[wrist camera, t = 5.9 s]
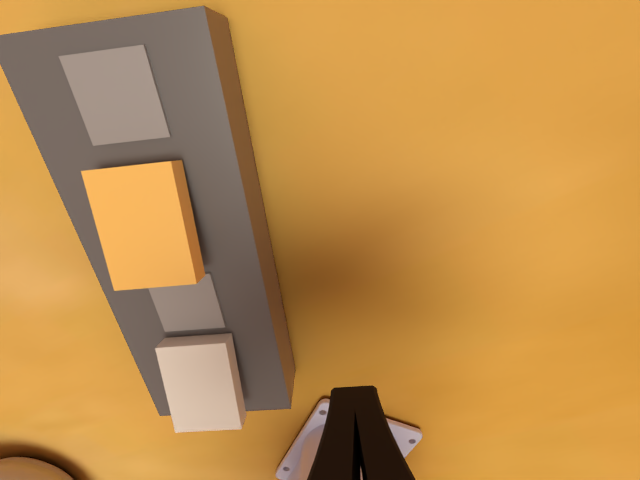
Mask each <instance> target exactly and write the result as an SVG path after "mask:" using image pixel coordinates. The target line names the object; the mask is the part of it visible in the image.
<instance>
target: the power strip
mask: <svg viewBox="0 0 640 480" xmlns="http://www.w3.org/2000/svg"><path fill="white" fill-rule="evenodd" d="M0 64H1V67H2V69H3V71H4V73H5V75H6V78H7V80H8V82H9V84H10V86H11V89H12V91H13V93H14V95H15V97H16V100H17V102H18V104H19V106H20V108H21V111H22V113H23V115H24V117H25V119H26V122H27V124H28V126H29V128H30V130H31V133H32V135H33V137H34V139H35V141H36V144H37V146H38V148H39V150H40V153H41V155H42V157H43V159H44V161H45V164H46V166H47V168H48V170H49V172H50V175H51V177H52V179H53V181H54V183H55V186H56V188H57V190H58V192H59V194H60V197H61V199H62V201H63V203H64V205H65V208H66V210H67V212H68V214H69V216H70V219H71V221H72V223H73V225H74V227H75V230H76V232H77V234H78V236H79V238H80V241H81V243H82V245H83V247H84V249H85V252H86V254H87V256H88V258H89V261H90V263H91V265H92V267H93V269H94V272H95V274H96V276H97V278H98V280H99V283H100V285H101V287H102V289H103V291H104V294H105V296H106V298H107V300H108V302H109V305H110V307H111V309H112V311H113V313H114V316H115V318H116V320H117V322H118V324H119V327H120V329H121V331H122V333H123V335H124V338H125V340H126V342H127V344H128V346H129V349H130V351H131V353H132V355H133V357H134V360H135V362H136V364H137V366H138V369H139V371H140V373H141V375H142V377H143V380H144V382H145V384H146V386H147V388H148V391H149V393H150V395H151V397H152V399H153V402H154V404H155V406H156V408H157V410H158V413H159V415H160V416H168V415H171V413H170V409H169V404H168V400H167V396H166V392H165V388H164V384H163V379H162V375H161V371H160V367H159V363H158V359H157V354H156V350H155V348H156V347H157V345H158V344H159V343H160V342H161V341H162V340H163V339H164V338H170V337H183V336H197V335H211V334H225V333H232V338H233V344H234V349H235V355H236V360H237V366H238V371H239V377H240V382H241V388H242V393H243V399H244V404H245V410H246V411H257V410H275V409H291V403H292V395H293V386H294V377H295V365H294V359H293V354H292V349H291V344H290V339H289V334H288V329H287V323H286V318H285V313H284V308H283V303H282V298H281V292H280V287H279V282H278V277H277V272H276V267H275V262H274V256H273V251H272V246H271V241H270V236H269V231H268V225H267V220H266V215H265V210H264V205H263V200H262V195H261V189H260V184H259V179H258V174H257V169H256V164H255V158H254V153H253V148H252V143H251V138H250V133H249V128H248V122H247V117H246V112H245V107H244V102H243V97H242V91H241V86H240V81H239V76H238V71H237V66H236V61H235V55H234V50H233V45H232V40H231V35H230V30H229V24H228V19H227V17H225V16H223V15H221V14H219V13H217V12H215V11H213V10H211V9H209V8H207V7H205V6H200V7H193V8H186V9H179V10H172V11H165V12H158V13H151V14H144V15H137V16H130V17H123V18H116V19H109V20H102V21H95V22H88V23H81V24H74V25H67V26H60V27H53V28H46V29H39V30H32V31H25V32H18V33H11V34H4V35H0ZM176 160H182V162H183V167H184V172H185V177H186V182H187V187H188V192H189V197H190V202H191V207H192V211H193V216H194V221H195V226H196V231H197V236H198V241H199V246H200V251H201V256H202V261H203V266H204V271H205V276H204V277H203V278H202V279H201V280H200V281H199V282H198V283H197V284H191V285H179V286H167V287H155V288H143V289H131V290H119V291H114V289H113V285H112V281H111V278H110V274H109V271H108V267H107V263H106V260H105V256H104V253H103V249H102V245H101V242H100V238H99V235H98V231H97V227H96V224H95V220H94V217H93V213H92V209H91V206H90V202H89V199H88V195H87V191H86V188H85V184H84V181H83V177H82V173H81V171H86V170H95V169H104V168H113V167H122V166H131V165H140V164H149V163H158V162H167V161H176Z"/></svg>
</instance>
